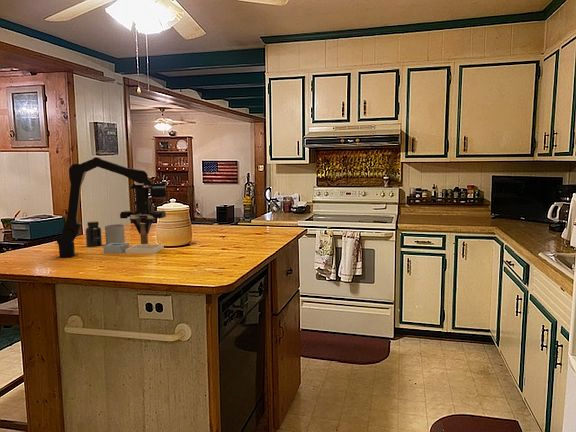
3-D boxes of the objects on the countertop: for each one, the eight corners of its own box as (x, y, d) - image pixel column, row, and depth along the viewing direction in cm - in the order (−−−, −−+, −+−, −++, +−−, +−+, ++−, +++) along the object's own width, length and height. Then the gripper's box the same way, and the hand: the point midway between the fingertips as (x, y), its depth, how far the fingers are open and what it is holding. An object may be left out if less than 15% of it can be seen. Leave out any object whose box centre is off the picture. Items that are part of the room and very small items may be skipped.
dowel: (146, 244, 193) (145, 224, 191) (139, 244, 193) (138, 224, 192) (149, 243, 195) (148, 223, 194) (142, 243, 196) (141, 223, 195)
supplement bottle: (98, 248, 205) (96, 222, 203) (83, 248, 205) (82, 223, 203) (104, 245, 212) (103, 220, 210) (90, 245, 212) (89, 220, 210)
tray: (155, 254, 189) (154, 249, 188) (125, 254, 189) (125, 249, 189) (163, 249, 200) (163, 244, 199) (135, 249, 200) (135, 244, 200)
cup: (128, 244, 212) (126, 224, 211) (120, 248, 204) (118, 226, 203) (111, 244, 213) (110, 224, 212) (102, 248, 205) (101, 226, 204)
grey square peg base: (121, 254, 190) (121, 246, 190) (103, 254, 191) (103, 246, 190) (129, 250, 198) (128, 242, 198) (112, 250, 199) (111, 242, 198)
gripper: (169, 197, 199) (170, 231, 201) (129, 197, 200) (131, 231, 202) (160, 199, 188) (162, 235, 190) (118, 199, 189) (120, 235, 191)
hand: (144, 233), depth 194 cm, fingers closed on dowel, 3 cm apart
